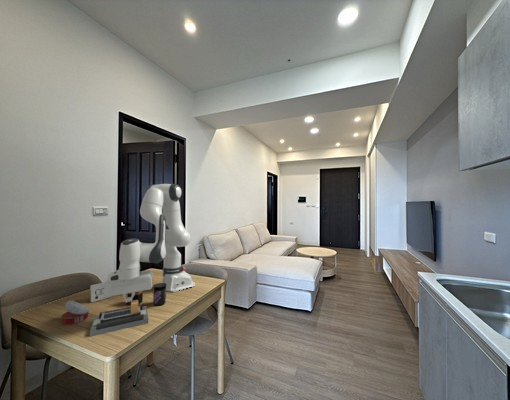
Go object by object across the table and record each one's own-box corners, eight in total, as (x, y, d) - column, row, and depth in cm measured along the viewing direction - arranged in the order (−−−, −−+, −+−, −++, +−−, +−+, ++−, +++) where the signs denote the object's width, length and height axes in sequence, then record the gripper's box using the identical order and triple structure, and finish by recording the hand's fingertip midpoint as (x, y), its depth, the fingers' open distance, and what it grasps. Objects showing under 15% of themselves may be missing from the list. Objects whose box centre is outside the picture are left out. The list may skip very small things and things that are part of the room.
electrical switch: (90, 303, 118) (91, 286, 119) (88, 301, 121) (88, 284, 122) (110, 298, 125) (110, 281, 126) (107, 296, 128) (107, 280, 129)
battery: (132, 300, 122) (132, 283, 122) (142, 301, 121) (143, 284, 121) (126, 304, 118) (127, 286, 118) (137, 305, 117) (138, 287, 117)
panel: (146, 310, 112) (146, 301, 112) (148, 322, 100) (148, 313, 100) (94, 320, 100) (94, 311, 101) (89, 336, 88) (90, 325, 89)
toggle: (137, 311, 105) (138, 299, 105) (137, 315, 102) (138, 302, 102) (130, 313, 104) (131, 300, 104) (130, 317, 100) (131, 304, 100)
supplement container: (152, 302, 121) (153, 284, 121) (164, 300, 124) (165, 282, 124) (153, 307, 115) (154, 288, 115) (166, 304, 118) (167, 285, 119)
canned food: (75, 324, 105) (85, 302, 110) (88, 326, 102) (98, 303, 107) (50, 323, 96) (62, 299, 101) (63, 325, 93) (75, 300, 98)
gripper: (152, 268, 110) (152, 294, 110) (104, 274, 100) (104, 303, 100) (153, 271, 105) (153, 299, 105) (103, 278, 95) (102, 309, 94)
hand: (128, 301), depth 102 cm, fingers closed
